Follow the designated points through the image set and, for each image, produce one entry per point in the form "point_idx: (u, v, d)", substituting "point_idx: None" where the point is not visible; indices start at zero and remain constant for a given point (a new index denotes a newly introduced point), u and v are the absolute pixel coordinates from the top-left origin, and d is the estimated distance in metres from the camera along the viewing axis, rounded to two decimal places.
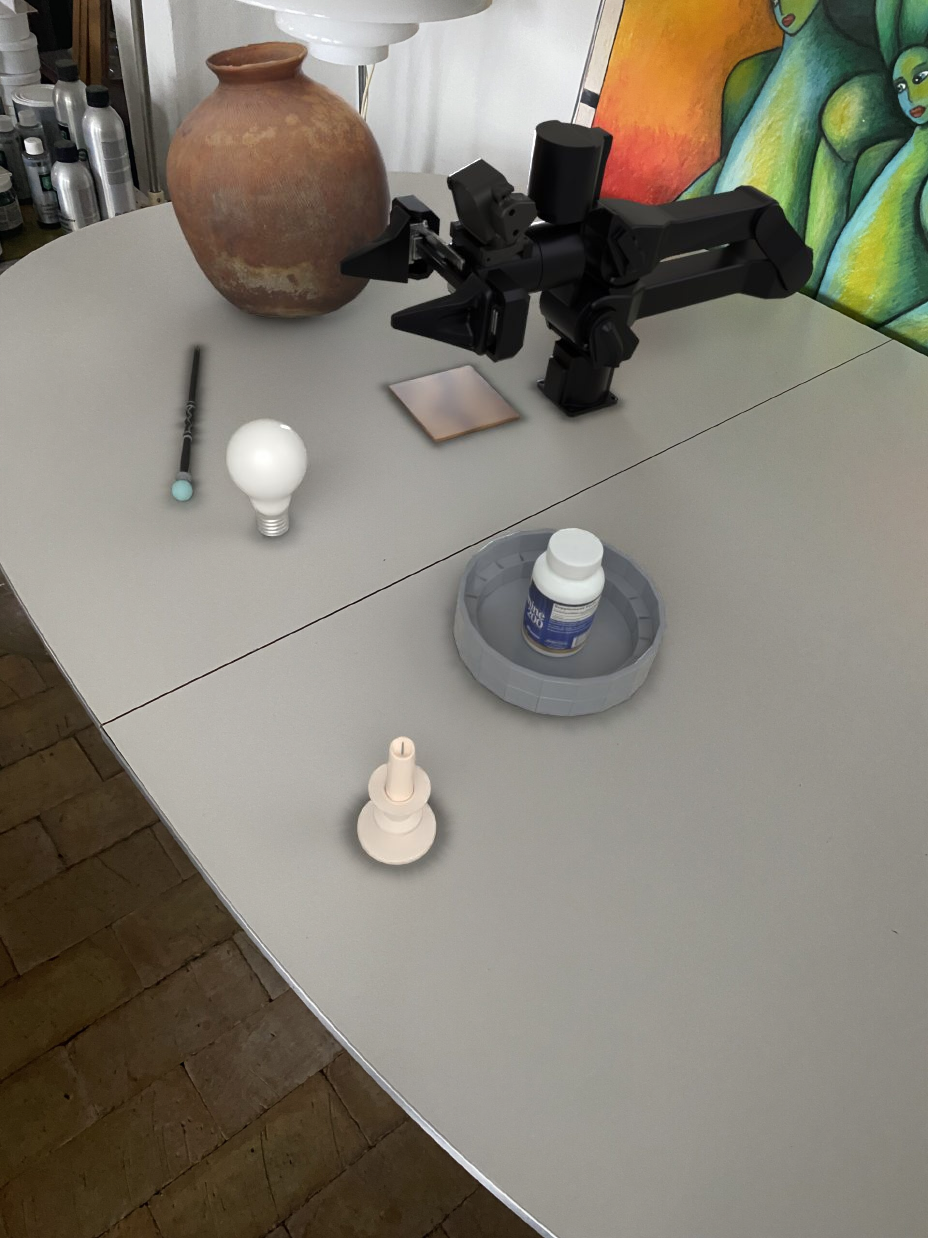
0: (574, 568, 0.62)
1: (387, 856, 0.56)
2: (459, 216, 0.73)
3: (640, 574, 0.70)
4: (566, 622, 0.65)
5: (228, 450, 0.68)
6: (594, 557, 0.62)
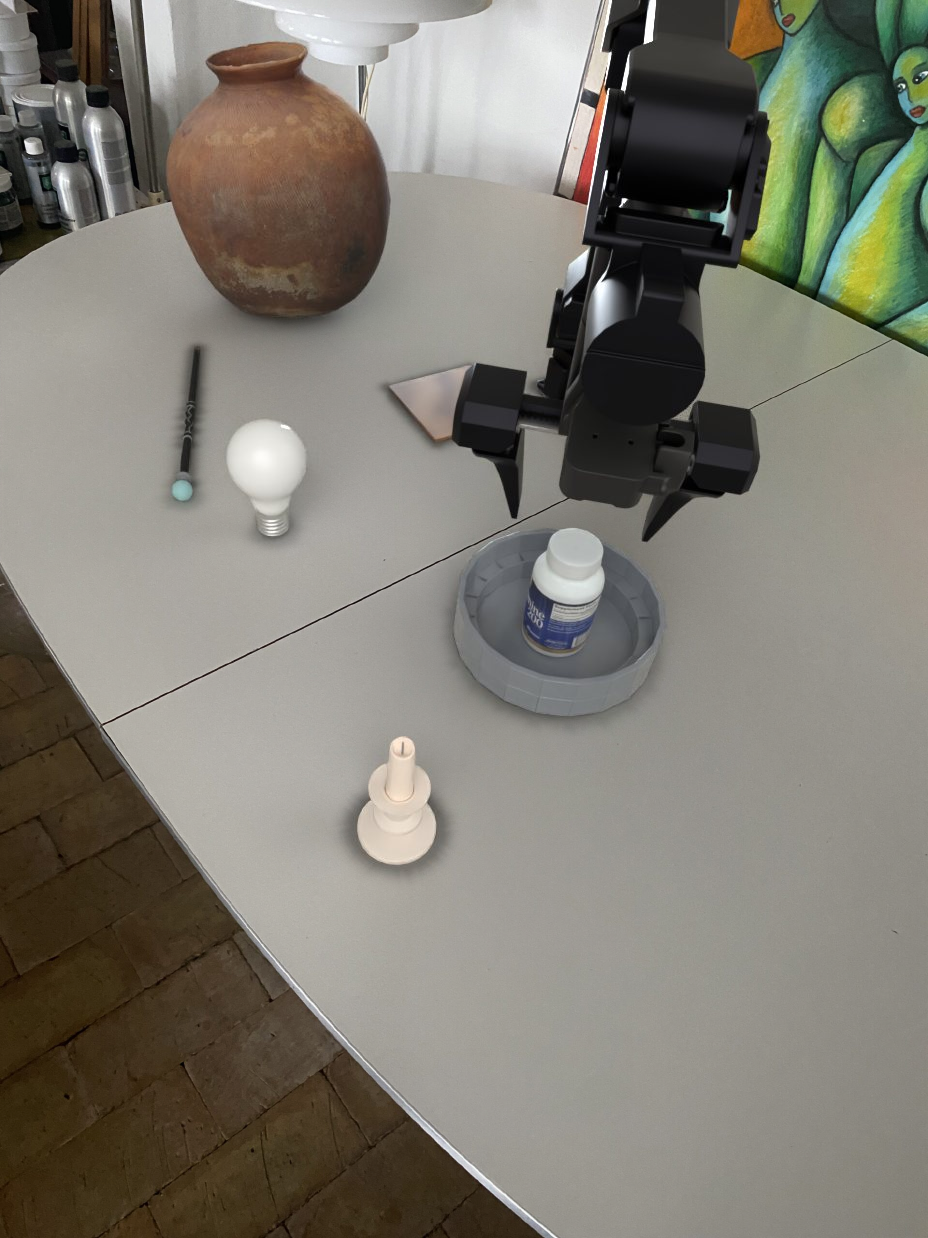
0: (574, 568, 0.62)
1: (387, 856, 0.56)
2: None
3: (640, 574, 0.70)
4: (566, 622, 0.65)
5: (228, 450, 0.68)
6: (594, 557, 0.62)
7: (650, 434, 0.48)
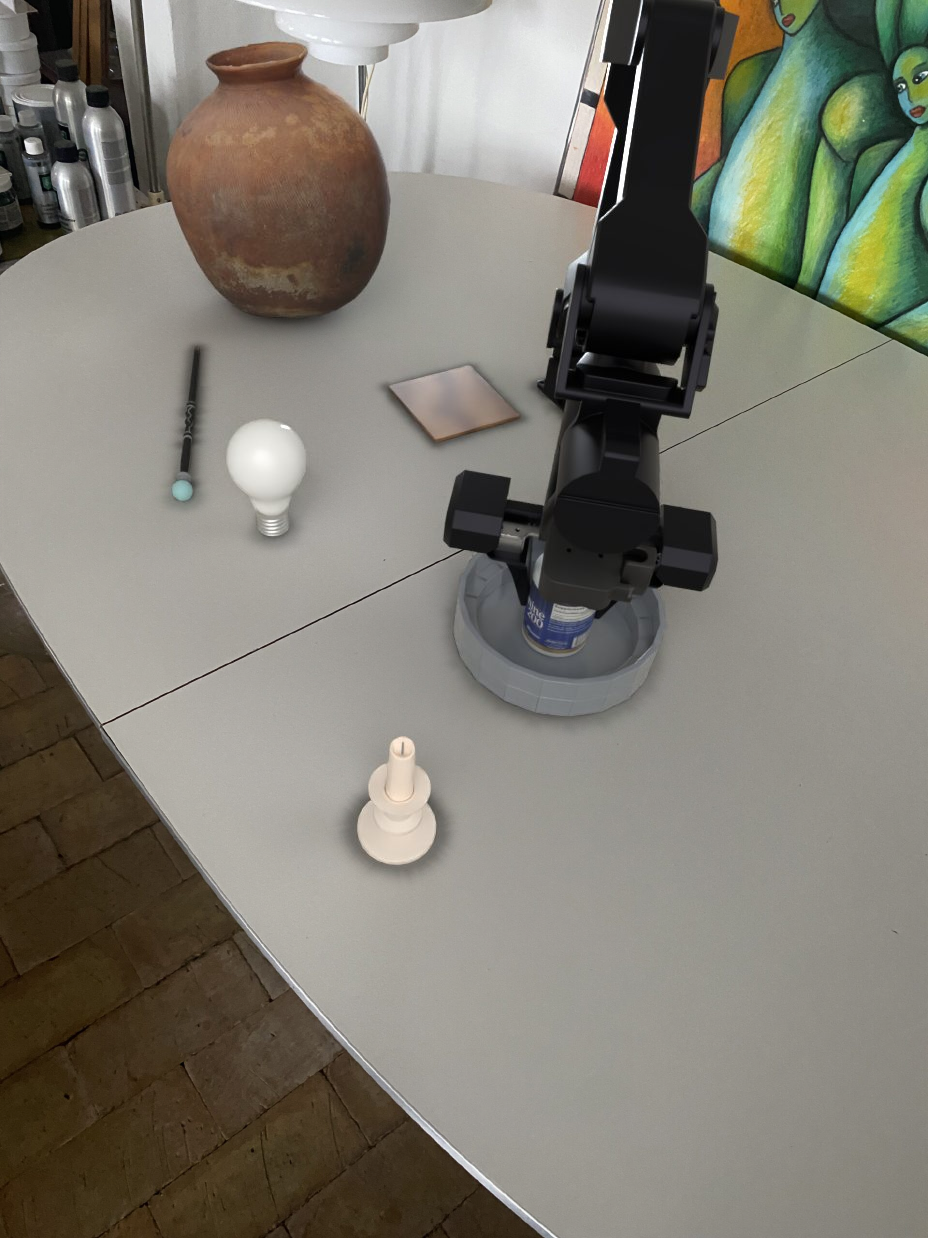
0: None
1: (387, 856, 0.56)
2: None
3: None
4: (567, 622, 0.65)
5: (228, 450, 0.68)
6: None
7: None
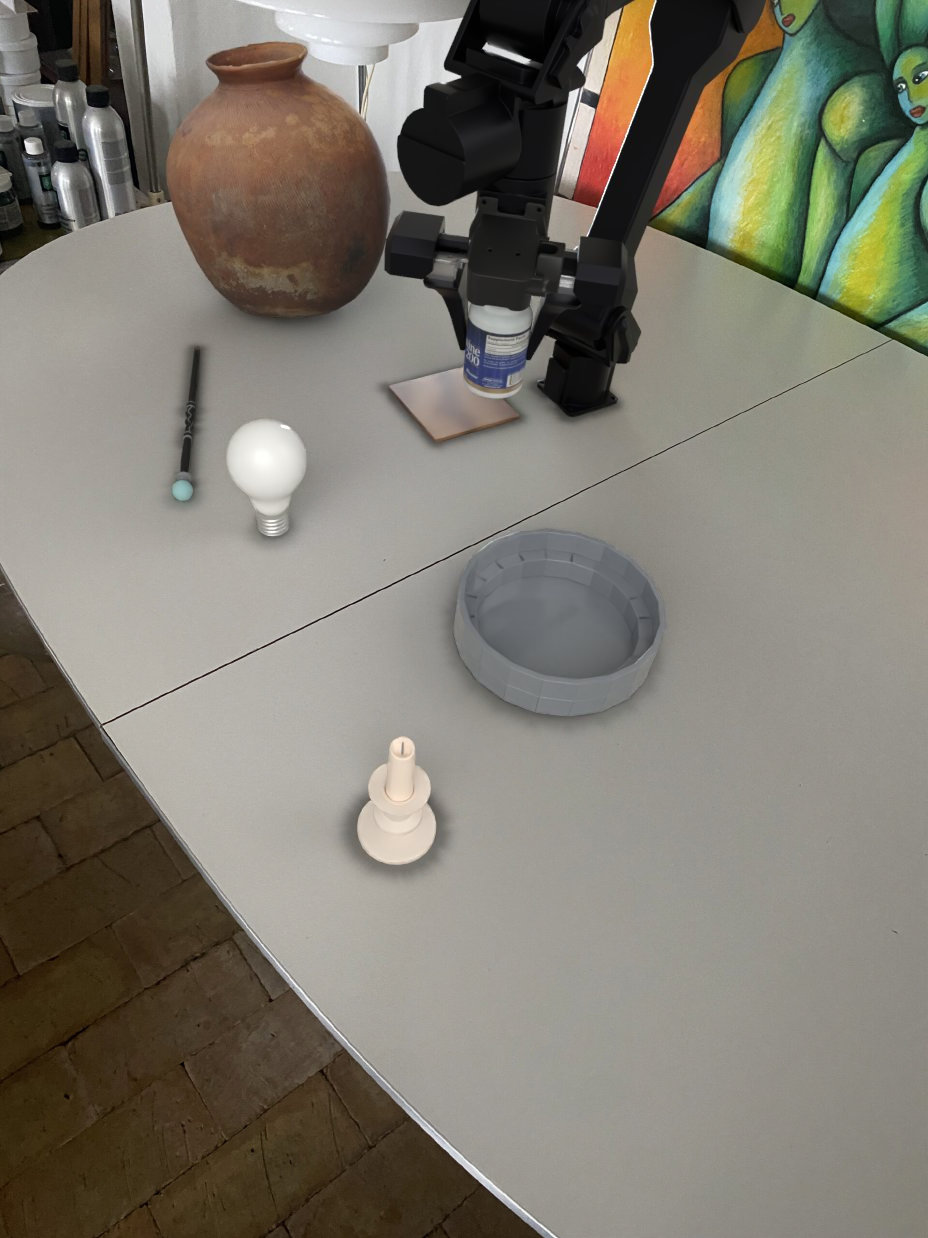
0: None
1: (387, 856, 0.56)
2: None
3: (640, 574, 0.70)
4: (499, 355, 0.72)
5: (228, 450, 0.68)
6: None
7: (533, 248, 0.62)
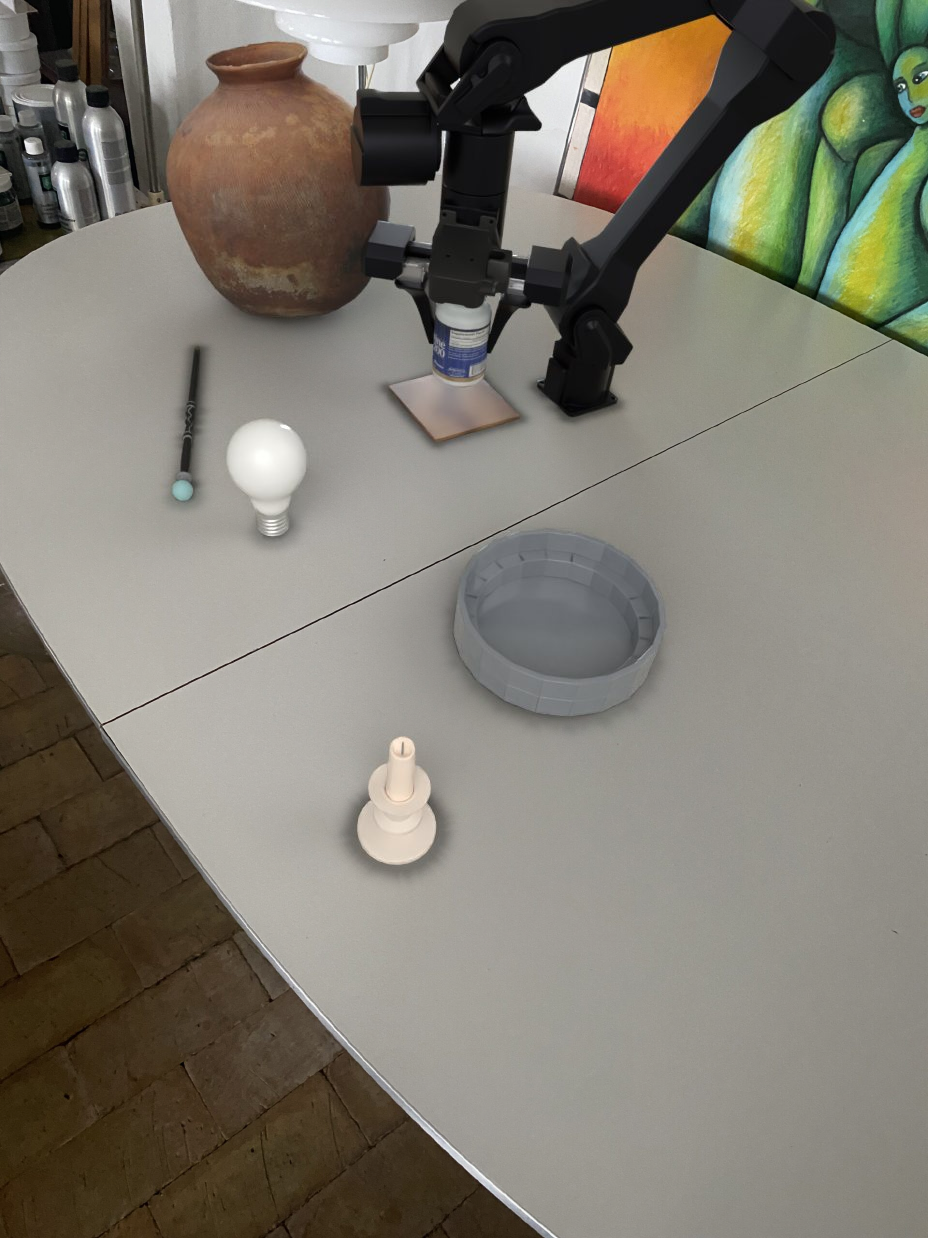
0: None
1: (387, 856, 0.56)
2: None
3: (640, 574, 0.70)
4: (462, 348, 0.83)
5: (228, 450, 0.68)
6: None
7: (485, 254, 0.73)
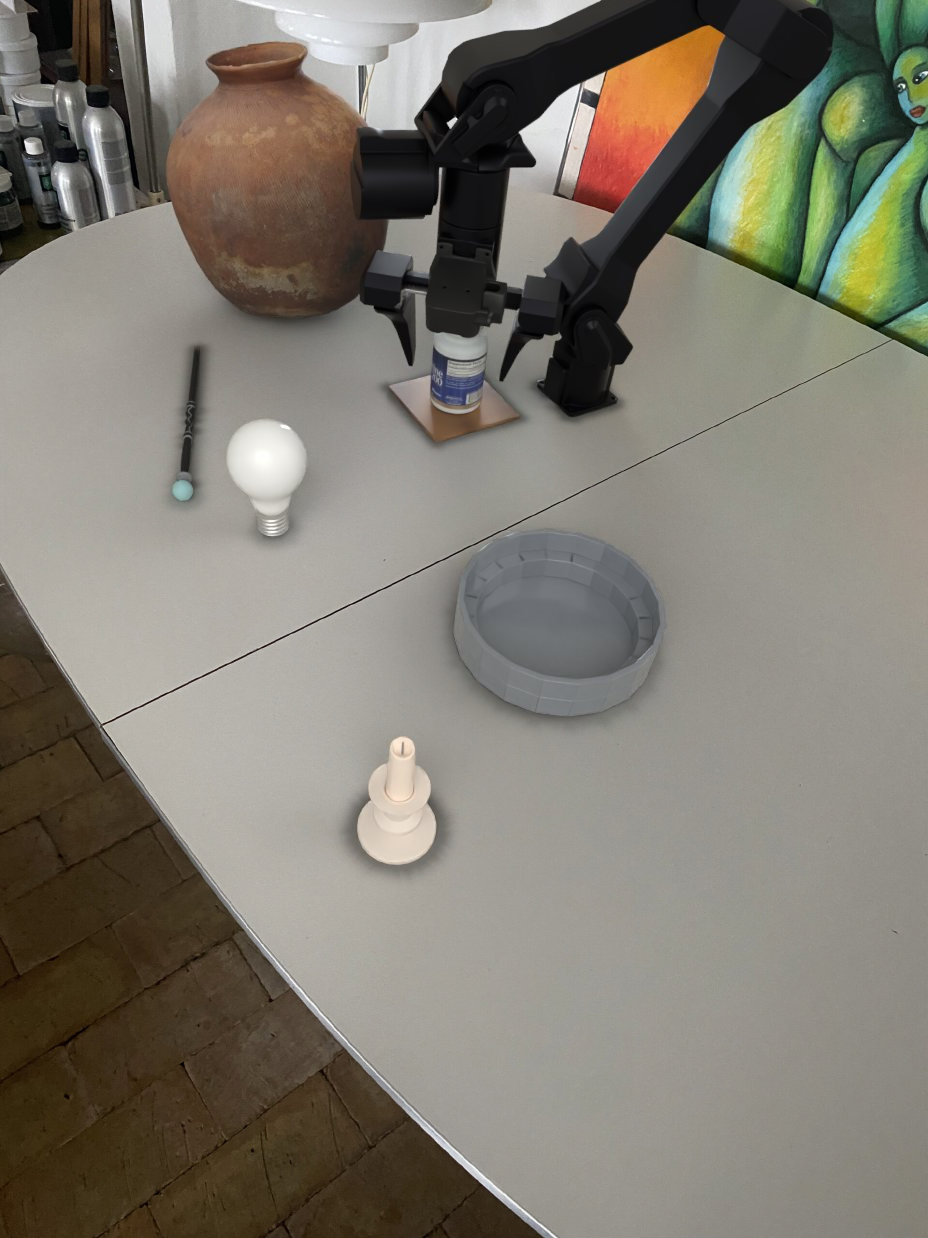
0: None
1: (387, 856, 0.56)
2: None
3: (640, 574, 0.70)
4: (459, 377, 0.85)
5: (228, 450, 0.68)
6: None
7: (481, 286, 0.75)
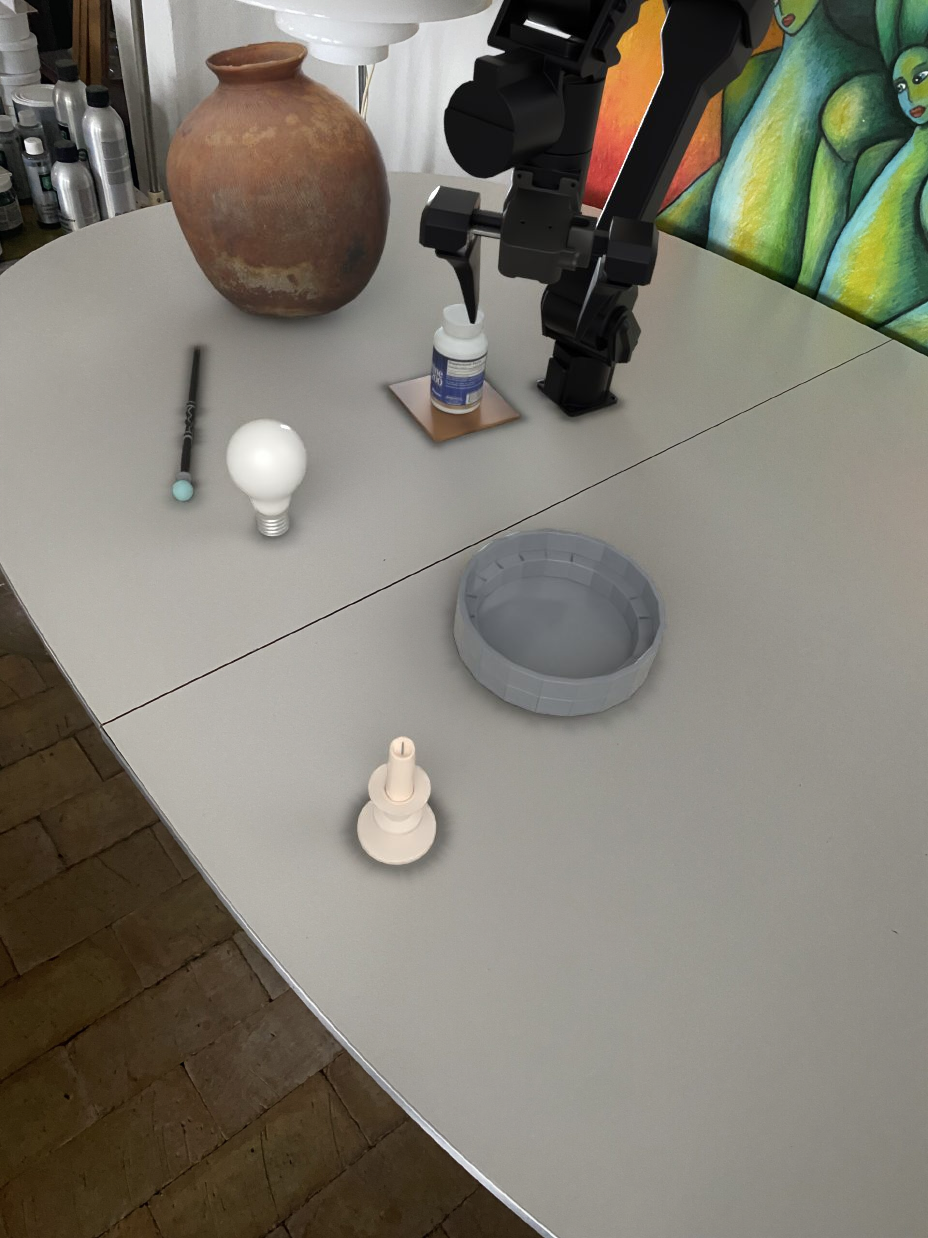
0: (460, 327, 0.82)
1: (387, 856, 0.56)
2: None
3: (640, 574, 0.70)
4: (459, 377, 0.85)
5: (228, 450, 0.68)
6: (476, 320, 0.82)
7: (565, 221, 0.63)
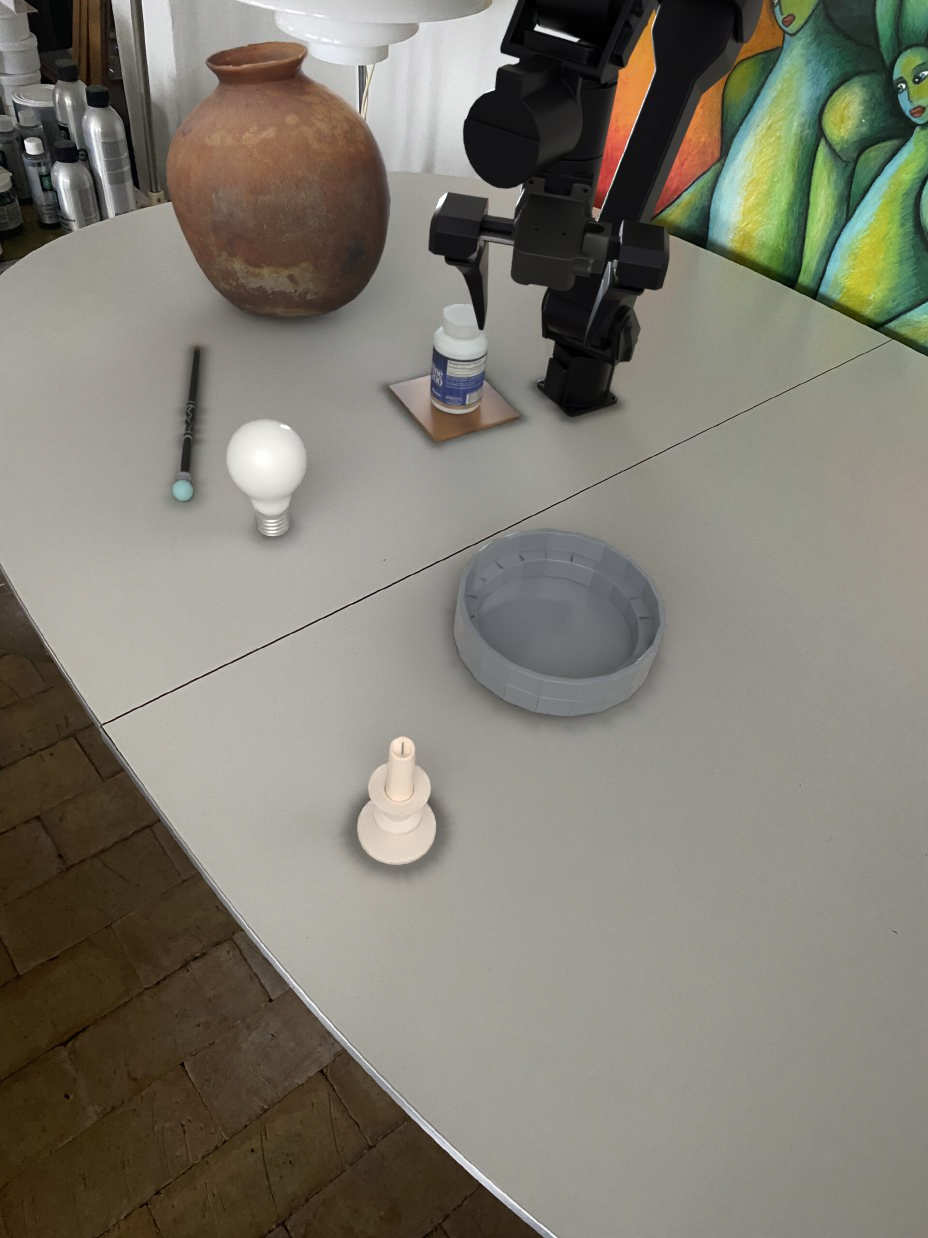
0: (460, 327, 0.82)
1: (387, 856, 0.56)
2: None
3: (640, 574, 0.70)
4: (459, 377, 0.85)
5: (228, 450, 0.68)
6: (476, 320, 0.82)
7: (579, 228, 0.63)
